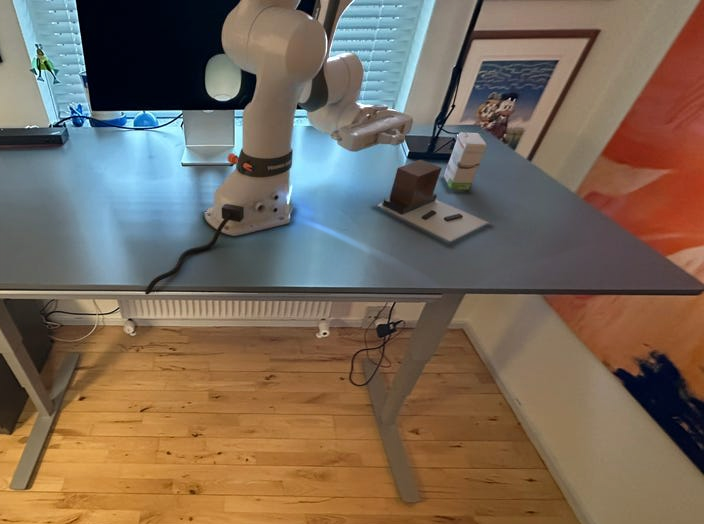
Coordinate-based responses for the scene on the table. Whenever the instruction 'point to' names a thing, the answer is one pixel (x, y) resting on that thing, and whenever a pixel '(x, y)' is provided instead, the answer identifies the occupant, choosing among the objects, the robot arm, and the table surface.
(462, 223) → the whiteboard
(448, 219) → the bar
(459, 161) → the ink box
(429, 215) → the marker stroke
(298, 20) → the robot arm
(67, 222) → the table surface
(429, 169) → the eraser
